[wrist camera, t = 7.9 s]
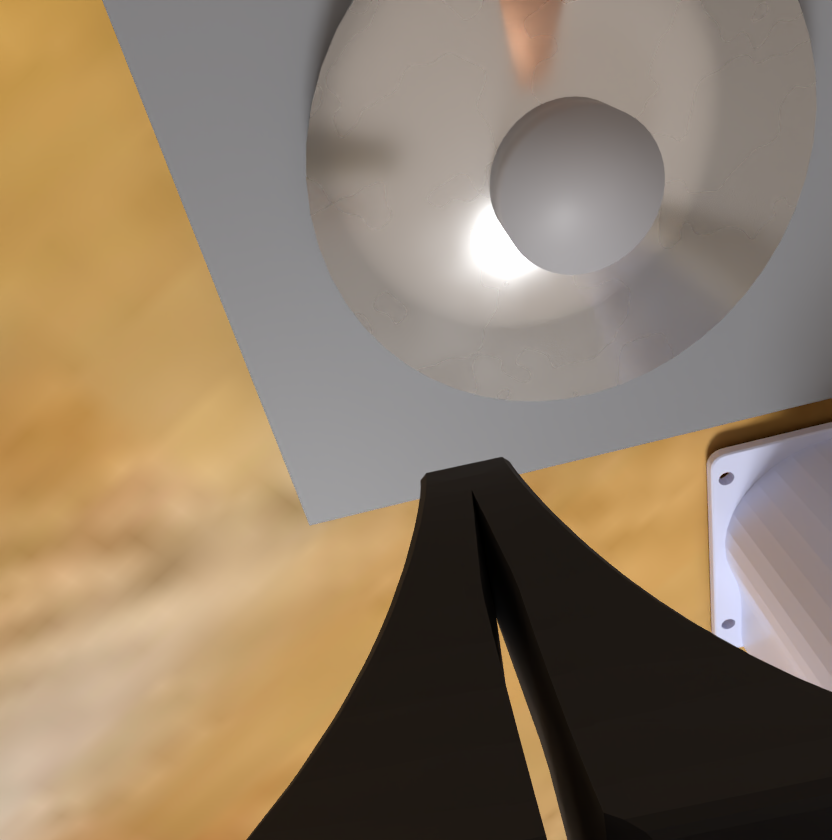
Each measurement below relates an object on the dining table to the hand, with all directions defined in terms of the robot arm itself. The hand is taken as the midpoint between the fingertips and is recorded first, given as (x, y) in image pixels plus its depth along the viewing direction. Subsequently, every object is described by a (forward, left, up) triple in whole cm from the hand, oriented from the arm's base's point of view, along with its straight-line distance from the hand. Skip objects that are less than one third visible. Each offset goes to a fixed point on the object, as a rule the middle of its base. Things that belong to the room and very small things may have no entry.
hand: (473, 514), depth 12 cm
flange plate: (+4, -4, -9) cm, 11 cm away
